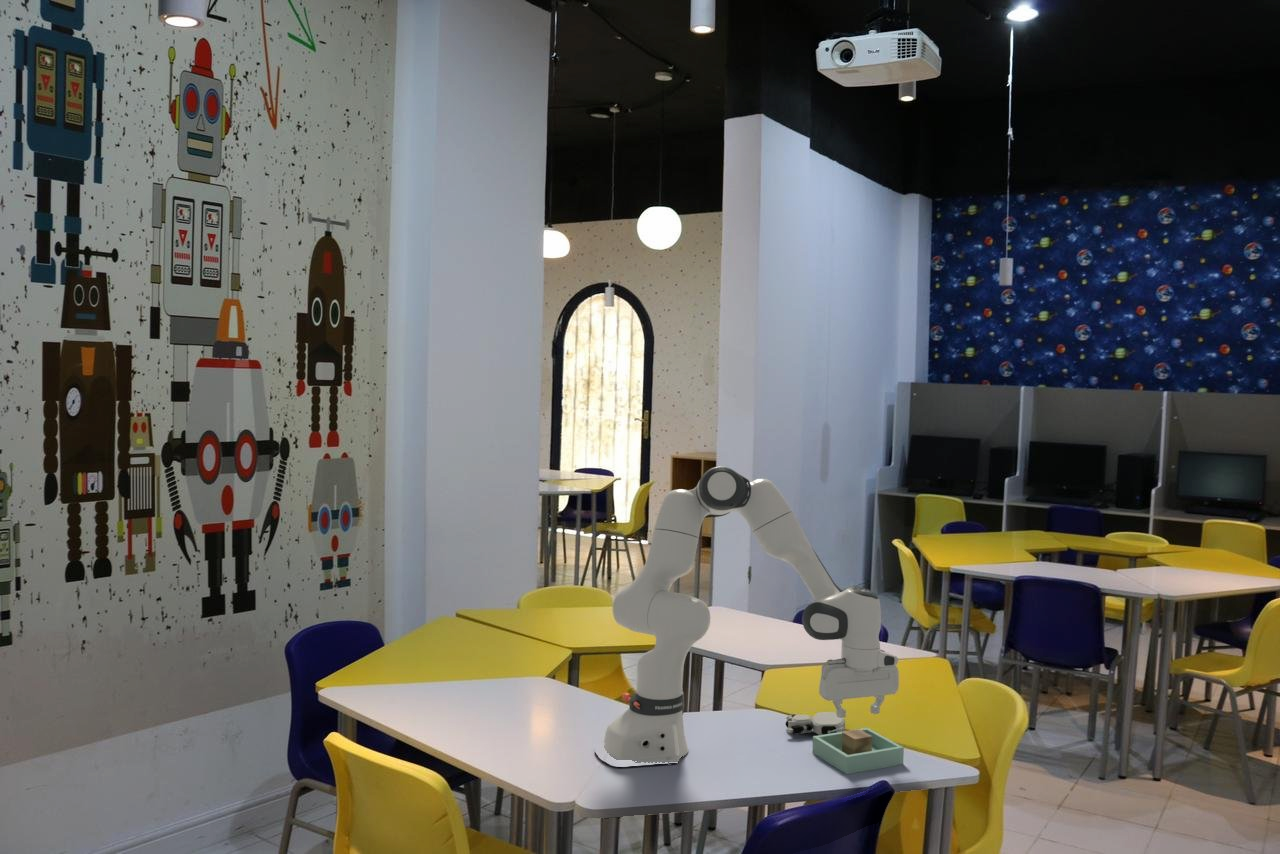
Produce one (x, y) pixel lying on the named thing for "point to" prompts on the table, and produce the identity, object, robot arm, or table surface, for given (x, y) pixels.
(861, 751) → the block
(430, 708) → the table surface
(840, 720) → the robot toy
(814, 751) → the tray
